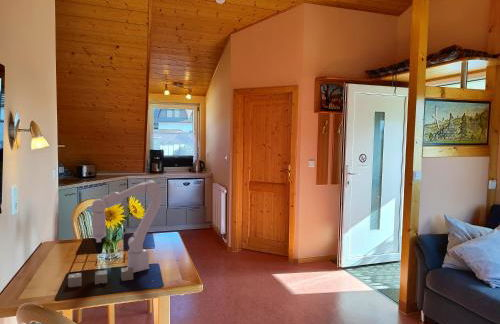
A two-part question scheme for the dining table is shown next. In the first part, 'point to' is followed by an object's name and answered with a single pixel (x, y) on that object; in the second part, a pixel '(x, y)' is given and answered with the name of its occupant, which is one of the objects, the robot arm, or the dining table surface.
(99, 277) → the plain block
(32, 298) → the dining table surface
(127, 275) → the barred block
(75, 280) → the dotted block
